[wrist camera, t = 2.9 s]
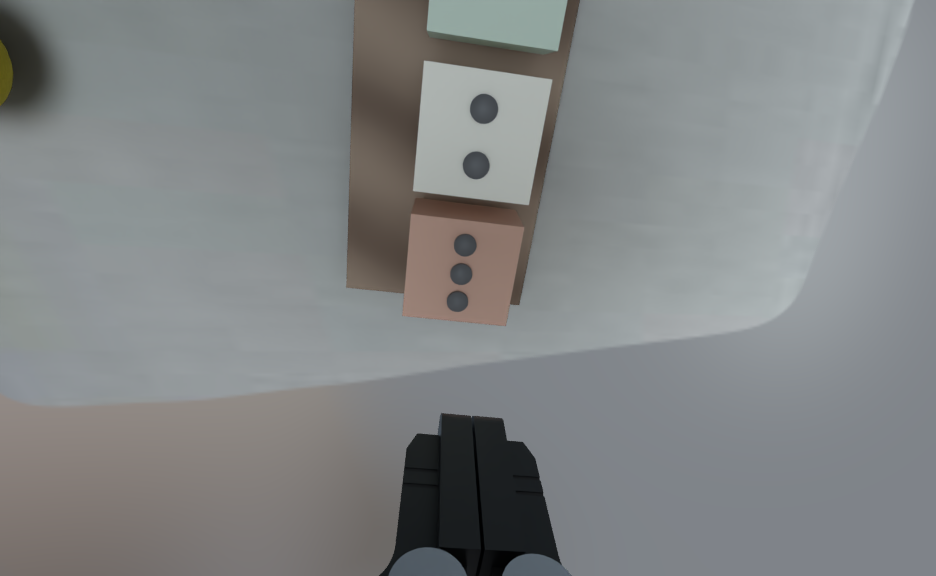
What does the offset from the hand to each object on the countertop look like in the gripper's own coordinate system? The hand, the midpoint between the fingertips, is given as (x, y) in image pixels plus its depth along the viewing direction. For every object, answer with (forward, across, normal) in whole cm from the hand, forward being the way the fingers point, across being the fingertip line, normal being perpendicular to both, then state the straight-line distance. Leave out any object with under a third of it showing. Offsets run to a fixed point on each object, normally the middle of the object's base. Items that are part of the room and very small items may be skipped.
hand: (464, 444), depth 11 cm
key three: (+14, 0, 0) cm, 14 cm away
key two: (+14, 0, -6) cm, 15 cm away
